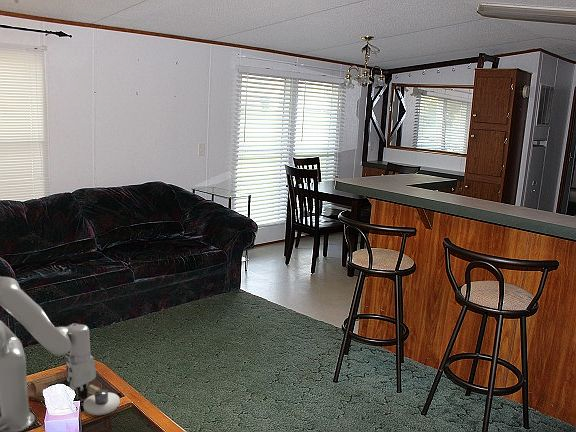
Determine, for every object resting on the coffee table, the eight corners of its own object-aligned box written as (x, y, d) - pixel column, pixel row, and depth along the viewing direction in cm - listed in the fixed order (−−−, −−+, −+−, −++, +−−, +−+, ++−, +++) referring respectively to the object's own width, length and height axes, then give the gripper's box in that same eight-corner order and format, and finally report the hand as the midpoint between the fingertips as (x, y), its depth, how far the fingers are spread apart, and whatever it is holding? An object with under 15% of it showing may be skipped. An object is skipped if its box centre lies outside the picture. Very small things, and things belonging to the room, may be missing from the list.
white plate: (121, 411, 219) (121, 407, 219) (84, 418, 214) (84, 414, 213) (118, 392, 231) (117, 389, 231) (82, 399, 226) (82, 395, 226)
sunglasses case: (17, 398, 225) (22, 381, 227) (28, 398, 231) (33, 381, 233) (55, 406, 220) (60, 389, 222) (65, 406, 227) (70, 389, 229)
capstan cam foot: (110, 400, 223) (110, 390, 222) (100, 406, 219) (100, 395, 218) (95, 392, 228) (94, 382, 227) (85, 398, 224) (84, 387, 222)
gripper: (70, 366, 207) (73, 409, 212) (102, 351, 220) (104, 392, 224) (57, 360, 211) (60, 403, 216) (90, 346, 224) (92, 386, 228)
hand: (83, 397), depth 220 cm, fingers closed
